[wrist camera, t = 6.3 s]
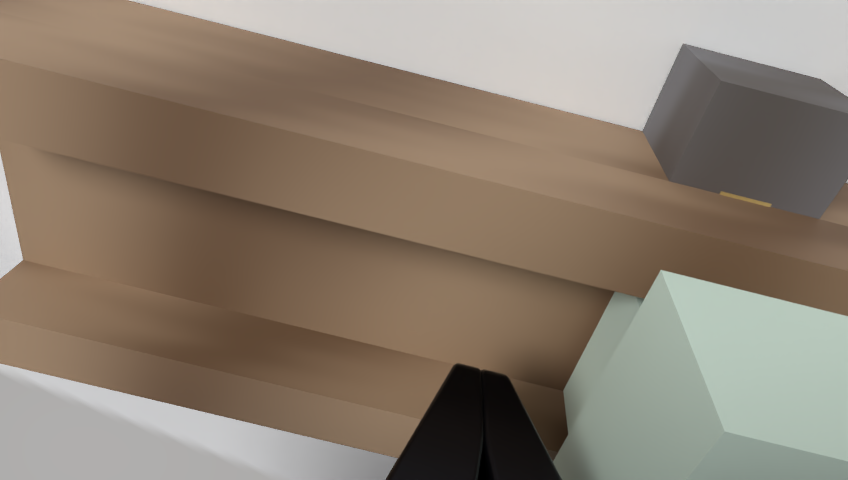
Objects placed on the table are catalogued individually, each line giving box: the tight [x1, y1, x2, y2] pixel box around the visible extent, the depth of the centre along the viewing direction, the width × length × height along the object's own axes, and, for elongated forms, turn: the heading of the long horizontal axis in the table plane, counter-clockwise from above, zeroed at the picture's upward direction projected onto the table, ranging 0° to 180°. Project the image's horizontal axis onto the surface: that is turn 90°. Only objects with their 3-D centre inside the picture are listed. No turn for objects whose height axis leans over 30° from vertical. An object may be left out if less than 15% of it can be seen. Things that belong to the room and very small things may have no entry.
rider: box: [553, 270, 848, 480], centre depth 8 cm, size 5×6×4 cm
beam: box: [0, 0, 848, 461], centre depth 10 cm, size 24×9×6 cm, turn 78°
